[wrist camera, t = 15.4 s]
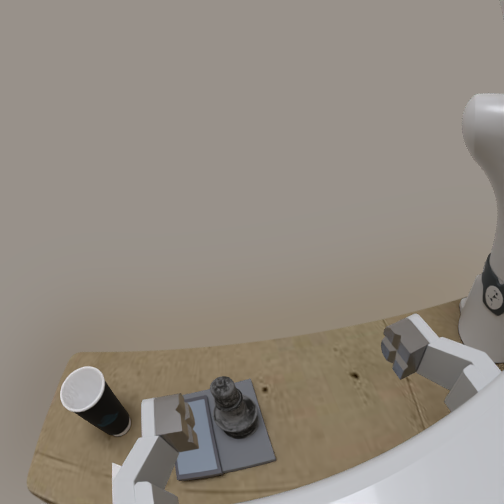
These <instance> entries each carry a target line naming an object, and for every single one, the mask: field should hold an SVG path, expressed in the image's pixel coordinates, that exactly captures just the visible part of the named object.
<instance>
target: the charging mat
mask: <svg viewBox="0 0 504 504" xmlns="http://www.w3.org/2000/svg"><path fill="white" fill-rule="evenodd" d="M234 384H235V386H236V388H237V389H239V390H240V391H241V392H242V394H243V395H246V396H248V397H250V398H251V399H252V400H253V401H254V402H255V404H256V406H257V411H258V413H257V415H258V417H259V427H258V429H257V430H256V432H255V433H254V434H253V435H251V436H249V437H247V438H244V439H234V438H231V437H229V436H228V435H227V434H226V433H225V432H224V431H223V429H221V428H220V427H218V426H217V424H216V423H215V421H214V418H213V411H214V407H215V405H214V397H213V395H212V393H211V391H210V389H209V390H204V391H200V392H195V393H191V394H186V395H182V396H183V397H184V400H185V399H190V398H194V397H199V396H204V395H207V397H208V401H209V407H210V412H211V417H212V423H213V428H214V433H215V438H216V443H217V448H218V452H219V457H220V462H221V466H222V470H223V473H227V472H232V471H237V470H241V469H246V468H250V467H254V466H258V465H262V464H266V463H269V462H273V461H276V458H275V455H274V452H273V449H272V446H271V443H270V440H269V437H268V433H267V430H266V427H265V424H264V421H263V418H262V414H261V411H260V408H259V405H258V402H257V398H256V395H255V392H254V388H253V385H252V382H251V379H247V380H244V381H240V382H236V383H234Z"/></svg>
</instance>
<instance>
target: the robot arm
mask: <svg viewBox="0 0 504 504" xmlns="http://www.w3.org/2000/svg"><path fill="white" fill-rule="evenodd" d="M500 4H501V9H502V13H503V19H504V0H500ZM462 133H463V137H464V141H465V144H466V147H467V149H468V151H469V153H470V154H471V156H472V157H473V159H474V160H475V161H476V162H477V163H478V165H479V166H480V167H481V168H482V169H483V170H484V172H485V174H486V175H487V177H488V179H489V181H490V183H491V185H492V187H493V190H494V193H495V196H496V201H497V208H498V218H497V228H496V233H495V239H494V243H493V248H492V251H491V253H490V254H489V255H488V258H487V260H486V262H485V265H484V268H483V269H484V270H483V273H482V274H480V275H477V277H476V279H475V281H474V283H473V286H472V288H471V290H470V292H469V295H468V297H466V298H463V299H462V300H461V302H460V304H459V306H460V311H461V316H460V319H459V325H458V327H459V334H460V337H461V339H462V341H463V343H464V344H465V345H463V344H460V343H458V342H455V341H452V340H449V339H447V338H444V337H441V338H439V337H438V336H437V335H436V334H435V332H434V331H433V330H432V329H431V328H430V327H429V326H428V325H427V324H426V322H425V321H424V320H423V319H422V318H421V317H420V316H419V315H418V314H413V315H411V316H409V317H407V318H404V319H402V320H400V321H398V322H396V323H394V324H392V325H389V326H387V327H386V328H385V329H384V335H385V337H384V339H383V340H382V343H381V349H382V353H383V355H384V357H385V358H386V360H387V361H389V362H391V363H393V368H392V369H393V370H394V371H395V373H396V374H397V376H398V377H399V379H400V380H401V379H403V378H405V377H407V376H409V375H411V374H413V373H415V372H416V373H418V374H420V375H422V376H424V377H426V378H427V379H429V380H431V381H433V382H435V383H437V384H439V385H441V386H443V387H444V388H446V389H448V390H450V392H449V393H448V395H447V396H446V398H445V401H444V402H445V403H446V405H447V406H448V408H449V409H450V411H451V413H450V414H448V415H447V416H445V417H444V418H442V419H441V420H439V421H438V422H436V423H435V424H433V425H432V426H430V427H429V428H427V429H425V430H424V431H422V432H421V433H419V434H417V435H416V436H414V437H412V438H410V439H409V440H407V441H405V442H403V443H402V444H400V445H398V446H396V447H394V448H392V449H390V450H389V451H387V452H385V453H383V454H381V455H379V456H377V457H375V458H372V459H370V460H368V461H366V462H364V463H362V464H360V465H357V466H355V467H353V468H350V469H348V470H346V471H343V472H341V473H338V474H336V475H333V476H331V477H328V478H325V479H323V480H320V481H317V482H314V483H311V484H308V485H305V486H302V487H299V488H296V489H293V490H289V491H286V492H282V493H279V494H275V495H271V496H267V497H263V498H259V499H255V500H250V501H245V502H240V503H235V504H504V370H503V371H502V372H501V371H500V369H499V368H498V367H497V366H496V365H495V363H504V94H493V93H490V94H475V95H474V96H473V97H472V98H471V99H470V100H469V102H468V103H467V105H466V107H465V110H464V113H463V118H462ZM141 422H142V437H141V438H138V440H137V441H136V443H135V445H134V446H133V448H132V450H131V451H130V453H129V455H128V456H127V458H126V460H125V461H124V463H123V465H122V466H121V468H120V470H119V471H118V473H117V475H116V476H115V478H114V480H113V481H112V484H113V503H114V504H179V502H178V497H177V496H175V495H174V494H171V493H169V492H167V491H165V490H164V489H165V486H166V484H167V481H168V479H169V477H170V474H171V472H172V470H173V467H174V465H175V463H176V460H177V458H178V455H179V453H178V452H184V451H190V450H195V449H199V444H198V438H197V434H196V432H195V431H194V430H193V428H194V426H195V419H194V415H193V412H192V409H191V407H190V405H189V404H188V403H186V402H184V397H183V396H182V394H181V393H179V394H174V395H169V396H163V397H157V398H151V399H145V400H142V404H141Z"/></svg>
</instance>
